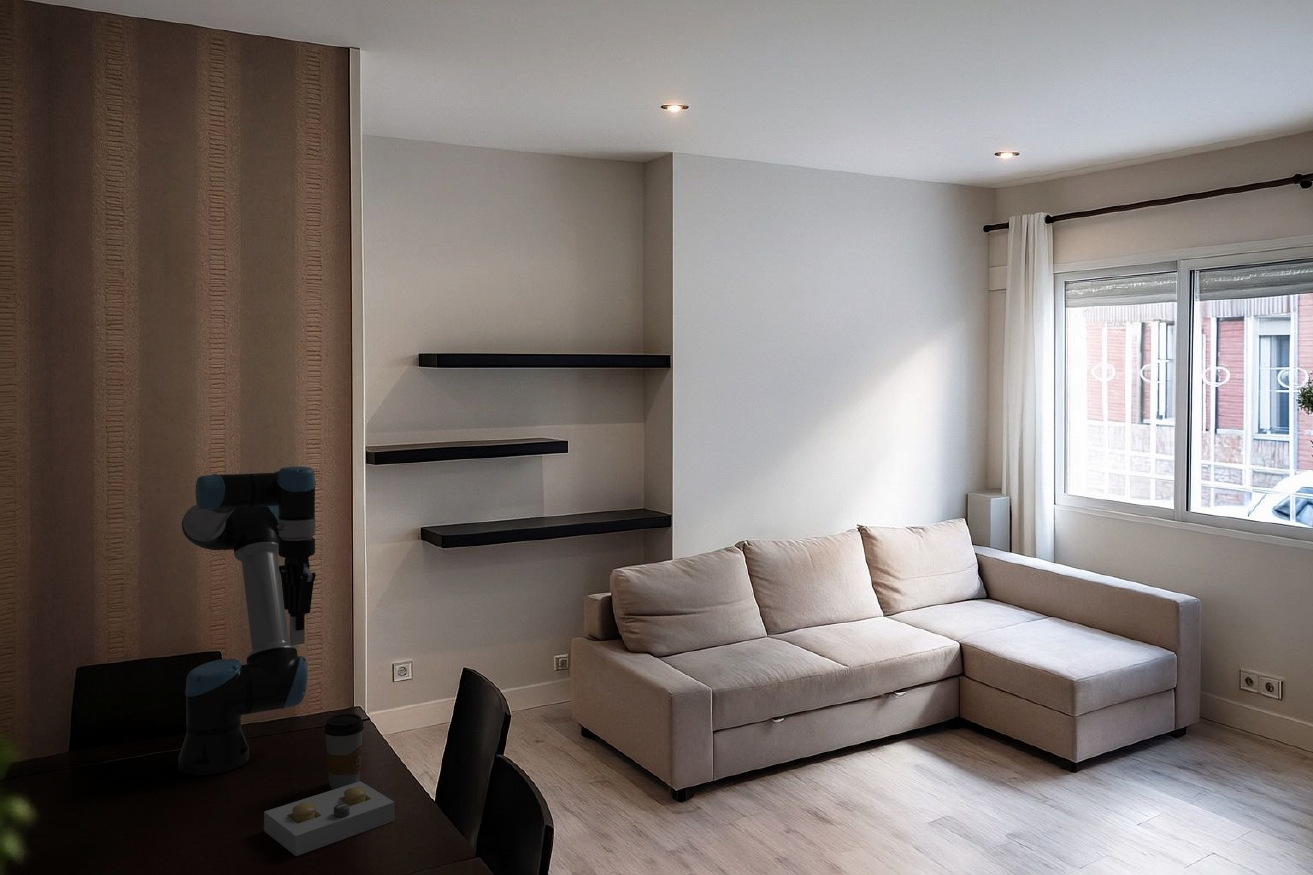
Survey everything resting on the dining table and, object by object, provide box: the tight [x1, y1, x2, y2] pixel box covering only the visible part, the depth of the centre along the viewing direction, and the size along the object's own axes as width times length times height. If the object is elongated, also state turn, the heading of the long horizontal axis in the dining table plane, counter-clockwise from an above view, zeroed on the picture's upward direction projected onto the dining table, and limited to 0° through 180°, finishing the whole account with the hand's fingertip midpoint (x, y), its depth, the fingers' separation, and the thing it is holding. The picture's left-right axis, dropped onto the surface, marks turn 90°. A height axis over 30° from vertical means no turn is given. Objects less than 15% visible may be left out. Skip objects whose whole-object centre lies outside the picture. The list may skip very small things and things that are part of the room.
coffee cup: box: [324, 713, 364, 790], centre depth 211 cm, size 8×8×15 cm
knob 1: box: [292, 803, 316, 823], centre depth 188 cm, size 4×4×4 cm
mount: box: [263, 780, 395, 857], centre depth 192 cm, size 14×21×6 cm, turn 136°
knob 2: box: [344, 787, 366, 806], centre depth 196 cm, size 4×4×4 cm
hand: (297, 643), depth 208 cm, fingers closed
